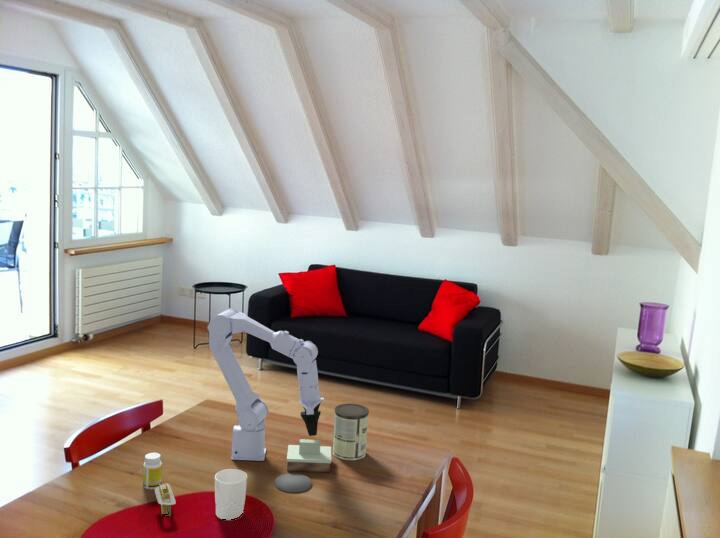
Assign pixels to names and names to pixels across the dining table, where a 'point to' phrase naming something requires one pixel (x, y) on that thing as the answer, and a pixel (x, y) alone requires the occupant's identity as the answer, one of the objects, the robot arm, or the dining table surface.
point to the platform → (168, 496)
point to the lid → (309, 452)
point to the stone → (293, 482)
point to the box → (308, 467)
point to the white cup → (230, 493)
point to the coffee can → (350, 431)
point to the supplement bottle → (152, 471)
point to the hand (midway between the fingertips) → (313, 430)
